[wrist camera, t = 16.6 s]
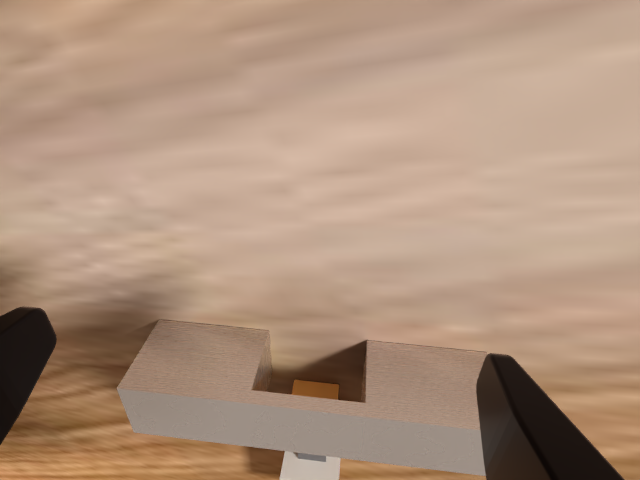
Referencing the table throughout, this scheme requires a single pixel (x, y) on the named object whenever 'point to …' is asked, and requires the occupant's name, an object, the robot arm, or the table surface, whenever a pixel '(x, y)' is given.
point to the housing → (307, 400)
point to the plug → (306, 469)
